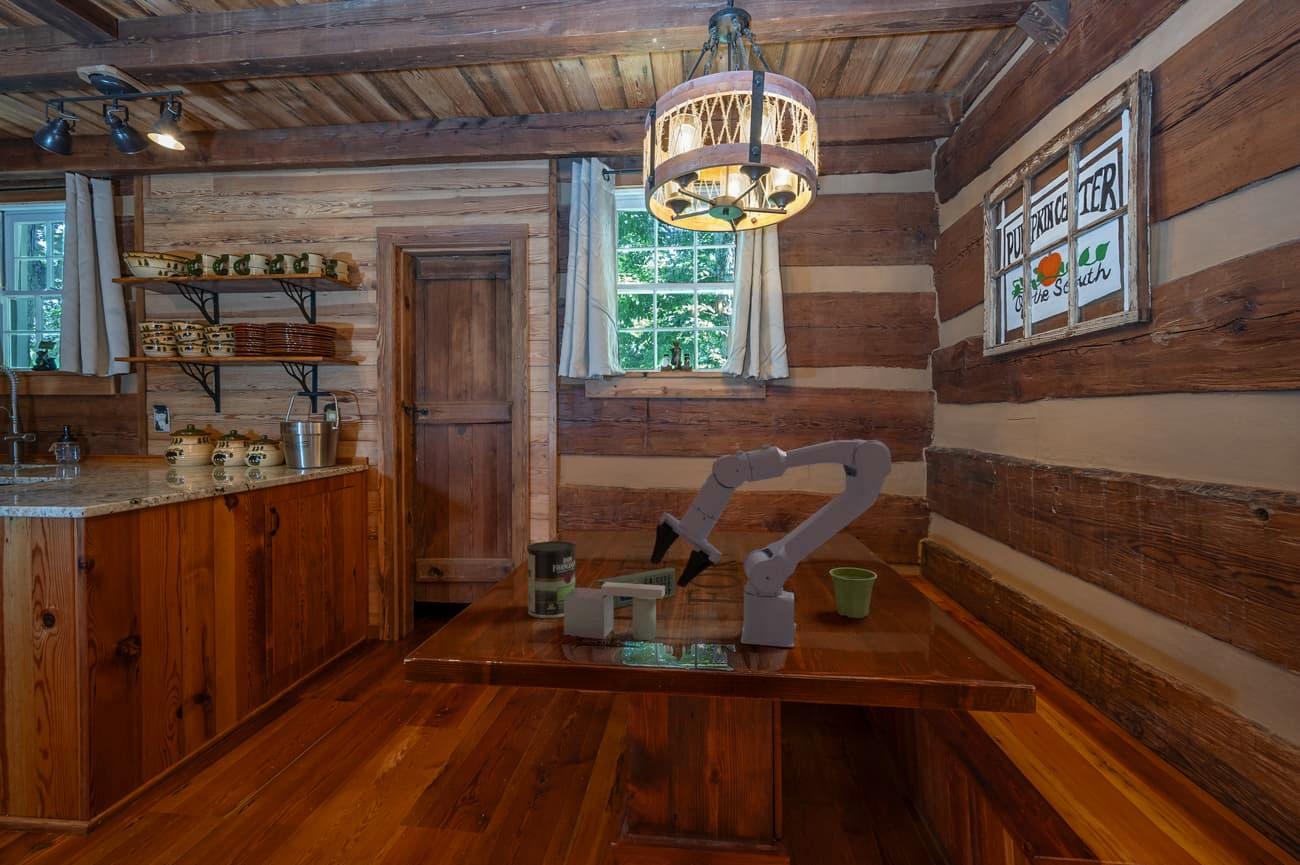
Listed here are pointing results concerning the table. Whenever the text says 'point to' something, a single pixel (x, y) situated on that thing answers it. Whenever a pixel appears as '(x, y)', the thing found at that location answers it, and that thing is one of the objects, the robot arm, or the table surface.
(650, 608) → the plug
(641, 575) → the handheld radio
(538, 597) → the coffee can
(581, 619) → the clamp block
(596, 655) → the table surface
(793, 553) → the robot arm
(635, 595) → the pale grey rectangular box
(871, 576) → the plant pot
